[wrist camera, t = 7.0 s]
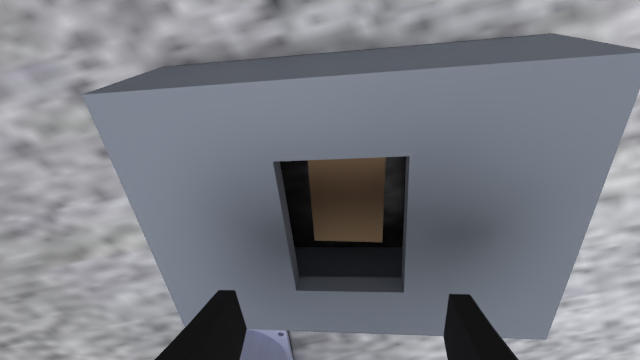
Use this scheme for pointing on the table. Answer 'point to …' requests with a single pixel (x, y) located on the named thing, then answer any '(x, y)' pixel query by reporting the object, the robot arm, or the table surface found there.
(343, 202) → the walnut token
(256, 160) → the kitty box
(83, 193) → the table surface
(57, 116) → the table surface
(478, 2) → the table surface
